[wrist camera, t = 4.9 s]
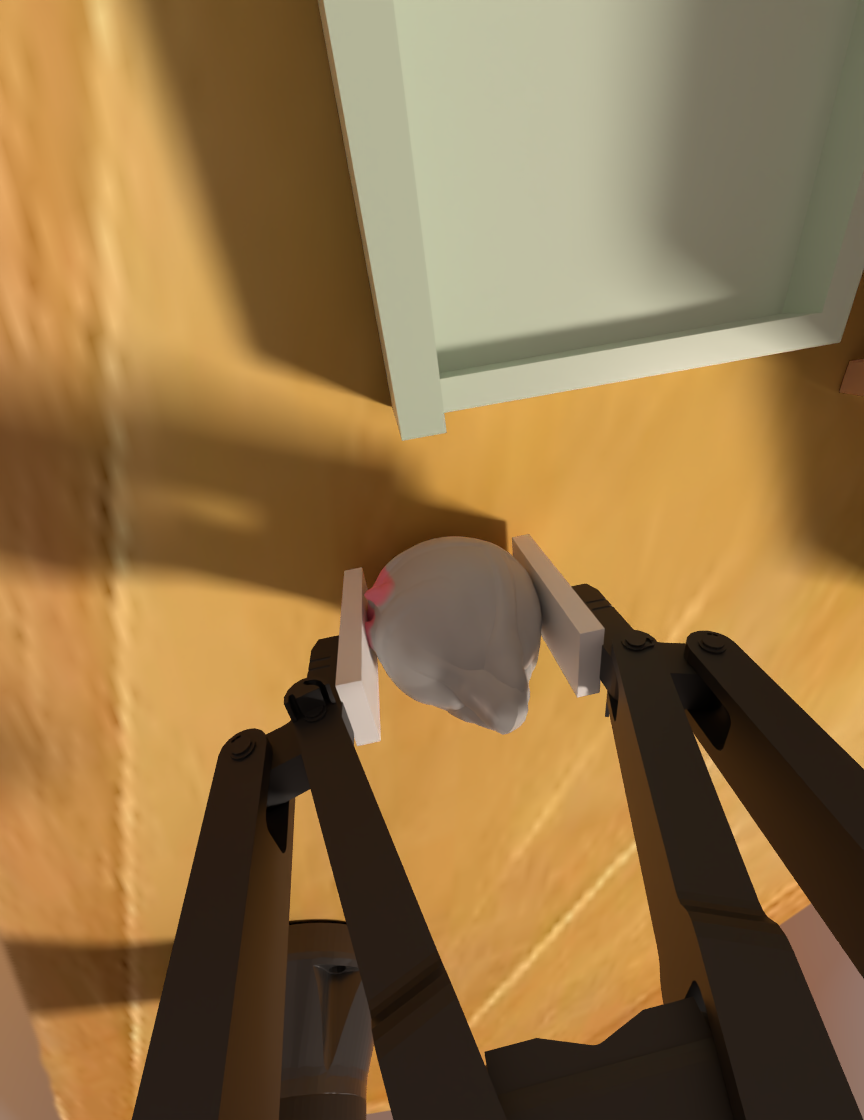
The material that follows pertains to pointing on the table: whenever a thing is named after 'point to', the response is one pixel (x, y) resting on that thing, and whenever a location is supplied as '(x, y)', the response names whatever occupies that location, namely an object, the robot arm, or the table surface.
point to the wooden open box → (854, 378)
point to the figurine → (458, 629)
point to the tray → (597, 187)
